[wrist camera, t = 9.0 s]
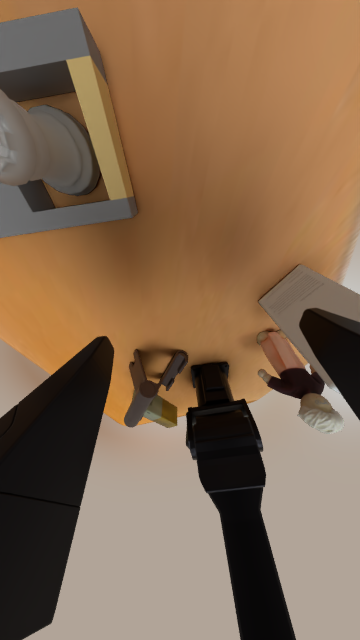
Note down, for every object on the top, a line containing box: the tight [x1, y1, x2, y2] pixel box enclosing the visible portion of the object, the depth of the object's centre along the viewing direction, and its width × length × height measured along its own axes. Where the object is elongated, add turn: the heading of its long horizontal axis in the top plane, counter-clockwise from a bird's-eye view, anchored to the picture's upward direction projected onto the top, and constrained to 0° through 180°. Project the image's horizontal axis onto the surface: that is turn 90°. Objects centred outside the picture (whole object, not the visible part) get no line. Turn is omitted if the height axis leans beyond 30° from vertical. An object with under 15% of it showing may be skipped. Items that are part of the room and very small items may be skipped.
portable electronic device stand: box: [124, 349, 188, 427], centre depth 25 cm, size 9×8×8 cm
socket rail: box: [0, 7, 138, 238], centre depth 11 cm, size 8×16×3 cm, turn 97°
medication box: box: [132, 390, 177, 428], centre depth 34 cm, size 12×3×4 cm, turn 33°
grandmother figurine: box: [257, 330, 344, 434], centre depth 20 cm, size 8×4×13 cm, turn 106°
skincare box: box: [258, 265, 360, 395], centre depth 16 cm, size 6×4×12 cm
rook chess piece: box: [0, 89, 100, 196], centre depth 9 cm, size 4×4×8 cm
